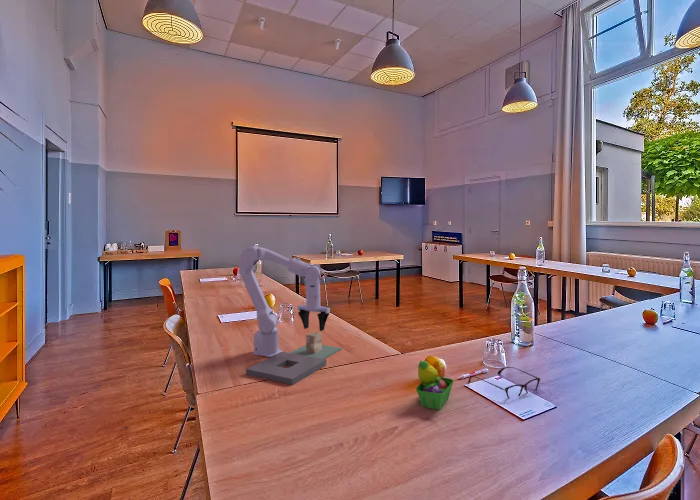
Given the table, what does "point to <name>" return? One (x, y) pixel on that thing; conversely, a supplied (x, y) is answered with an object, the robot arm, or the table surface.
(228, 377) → the table surface
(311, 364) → the pocket plate
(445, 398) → the fruit basket
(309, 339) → the birch block
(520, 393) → the eyeglasses
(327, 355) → the rubber mat
